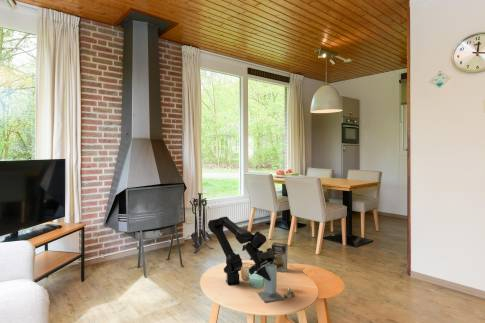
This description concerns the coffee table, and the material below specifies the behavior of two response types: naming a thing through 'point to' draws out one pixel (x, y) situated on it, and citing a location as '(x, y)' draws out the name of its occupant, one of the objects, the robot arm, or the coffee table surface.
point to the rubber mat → (270, 296)
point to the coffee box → (280, 256)
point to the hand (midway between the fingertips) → (272, 278)
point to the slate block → (272, 272)
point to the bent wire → (289, 293)
